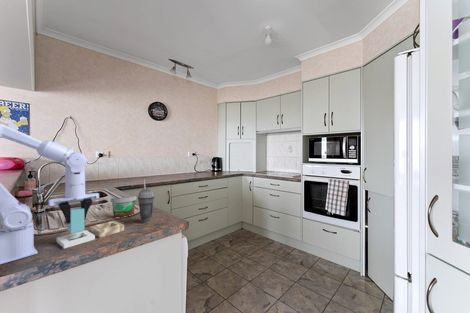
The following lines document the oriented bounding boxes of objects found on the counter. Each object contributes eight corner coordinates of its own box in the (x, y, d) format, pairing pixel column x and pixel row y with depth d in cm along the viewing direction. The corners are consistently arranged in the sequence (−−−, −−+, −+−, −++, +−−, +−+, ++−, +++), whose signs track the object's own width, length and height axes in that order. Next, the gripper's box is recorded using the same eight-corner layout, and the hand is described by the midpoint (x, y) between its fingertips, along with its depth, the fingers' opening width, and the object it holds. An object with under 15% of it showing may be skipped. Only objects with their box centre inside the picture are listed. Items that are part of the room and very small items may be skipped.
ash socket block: (99, 237, 75) (99, 231, 75) (90, 232, 81) (90, 226, 81) (124, 230, 83) (124, 224, 83) (114, 226, 88) (114, 220, 88)
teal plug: (71, 233, 70) (70, 211, 70) (67, 231, 73) (67, 209, 73) (84, 229, 74) (84, 208, 73) (80, 227, 76) (80, 206, 76)
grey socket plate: (64, 248, 67) (64, 244, 67) (56, 241, 72) (56, 237, 72) (94, 239, 74) (94, 235, 74) (86, 233, 79) (86, 230, 79)
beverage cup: (146, 225, 89) (145, 180, 89) (134, 223, 92) (133, 180, 92) (157, 220, 96) (157, 178, 96) (146, 218, 98) (146, 178, 98)
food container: (106, 219, 97) (106, 199, 97) (111, 216, 103) (110, 196, 102) (134, 217, 100) (134, 197, 100) (137, 214, 106) (136, 195, 106)
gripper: (52, 188, 65) (52, 229, 65) (102, 182, 76) (102, 217, 77) (46, 186, 69) (47, 225, 69) (95, 181, 81) (95, 214, 81)
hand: (75, 221), depth 73 cm, fingers closed on teal plug, 4 cm apart
